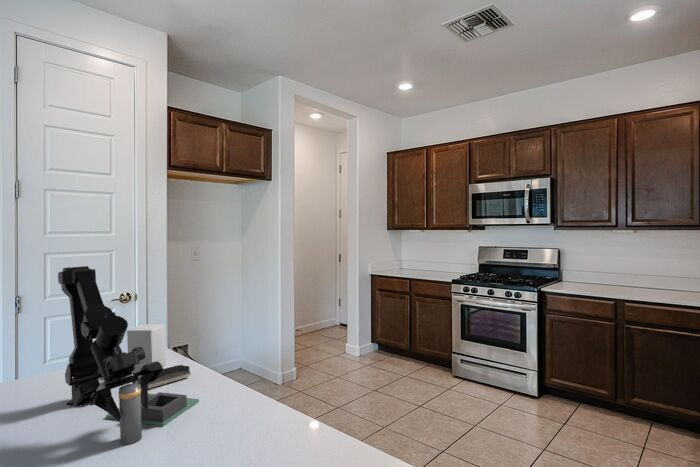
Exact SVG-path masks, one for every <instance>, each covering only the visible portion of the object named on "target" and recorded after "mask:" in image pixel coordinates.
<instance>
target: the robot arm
mask: <svg viewBox="0 0 700 467" xmlns="http://www.w3.org/2000/svg"><path fill="white" fill-rule="evenodd" d="M96 272H97V271H96V268H92V269H91V268H90V267H89V266H87V265H85V266H84V265H83V266H72V267H69V266H68V267H63V268H62V271H58V274H57V281H58V284H59V285H60V288H61V291H62V292H63V293H64V294H65V295H66V296H67V298H68V300H69V306H70V307H69V308H70V316H71V327H72V335H73V344H74V346H73V347H74V348H73V350H72V352H71V353H70V355H69V358H68V364H67V366H66V370H65V373H64V379H65V384H67V385H68V386H69V387H71V400H69V401H66V405H70V406H74V408H79V407H86V406H88V405H89V406H96V407H98V408H99V409H101V410H104V411H105V412H106V413H107V414H110V415H112V416H113V417H114V418H116V419H117V420H116V421H120V418H121V415H120V412H119V410H118V408H119V407H118V406H117V404H116V402H115V399H114V397H113V396H112V389H116V388H120V387H122V386H124V385H127V384H132V383H133V382H135V383H137V384H140V387H141V404H142V406H143V407H144V409H147V408H148V393H149V389H148V384H149V383H150V382H153V381H155V380H156V379H157V378H158V376H159V375H160V373H161V371H162V370H163V369H164V366H163V367H162V365H161V363H160V362H157V361H156V362H152V363H149V364H146V365H143V367H142V369H141V370H140V372H137V373H131V372H132V371H134V369H135V366H134V365H136V364H140V362H139V361H141V360H143V359H145V357H146V355H145V352H144V350H143V348H142V346H141V347H137V348H134V349H133V350H132V352H129V353H128V352H123V351H122V348H121V344H122V343H123V340H124V338H125V334H126V333H127V329H128V326H129V324H128V321H127V319H125V318H124V317H122V316H120V315H116V312H114V311H113V310H112V309H111V308H110V307H108V306H106V305H105V304H104V302H103V299H102V295H101V292H100V290H99V287H98V284H97V276H96V274H97V273H96ZM99 379H103V381H102V382H100V381H99Z"/></svg>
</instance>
